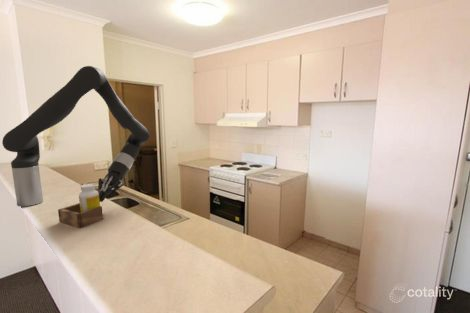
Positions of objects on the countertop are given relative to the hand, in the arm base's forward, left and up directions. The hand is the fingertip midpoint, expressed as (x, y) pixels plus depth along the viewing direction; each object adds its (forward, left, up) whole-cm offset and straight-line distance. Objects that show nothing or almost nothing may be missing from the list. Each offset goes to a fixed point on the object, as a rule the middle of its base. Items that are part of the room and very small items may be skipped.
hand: (99, 200), depth 98 cm
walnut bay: (0, -8, -5) cm, 9 cm away
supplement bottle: (0, -4, -6) cm, 7 cm away
